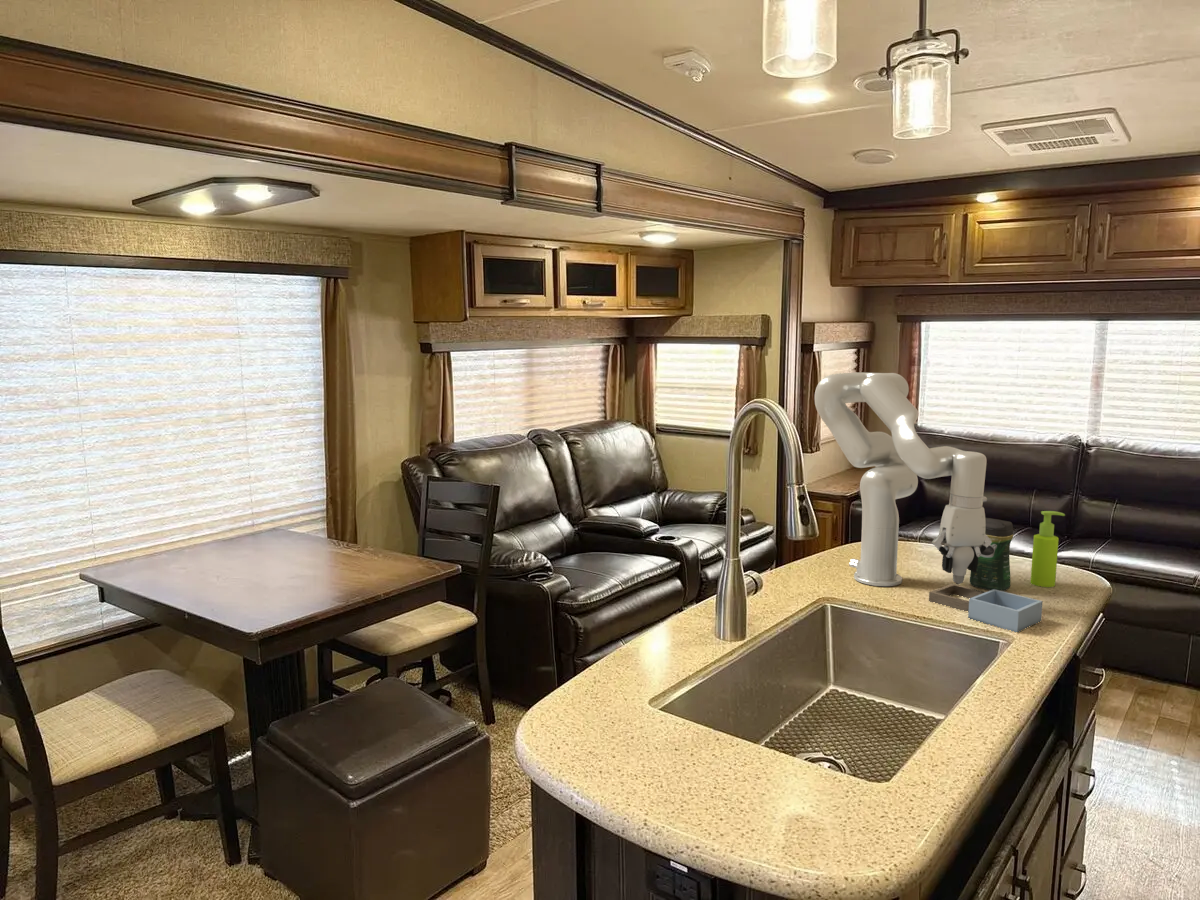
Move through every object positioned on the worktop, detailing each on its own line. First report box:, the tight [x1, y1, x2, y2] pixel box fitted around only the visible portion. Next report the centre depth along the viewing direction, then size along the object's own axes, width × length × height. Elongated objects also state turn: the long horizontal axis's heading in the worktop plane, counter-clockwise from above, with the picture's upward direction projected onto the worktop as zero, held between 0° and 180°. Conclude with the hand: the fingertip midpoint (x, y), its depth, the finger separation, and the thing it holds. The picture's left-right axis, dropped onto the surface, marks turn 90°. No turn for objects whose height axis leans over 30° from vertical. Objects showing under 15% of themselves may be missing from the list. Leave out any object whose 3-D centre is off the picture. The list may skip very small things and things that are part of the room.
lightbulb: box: [951, 546, 974, 585], centre depth 205 cm, size 6×6×11 cm
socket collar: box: [928, 583, 986, 612], centre depth 206 cm, size 11×11×2 cm
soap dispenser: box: [1029, 510, 1066, 588], centre depth 219 cm, size 6×7×20 cm
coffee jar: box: [969, 517, 1014, 592], centre depth 217 cm, size 10×8×19 cm
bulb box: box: [967, 589, 1044, 633], centre depth 193 cm, size 12×12×5 cm
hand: (959, 570), depth 206 cm, fingers closed on lightbulb, 5 cm apart
